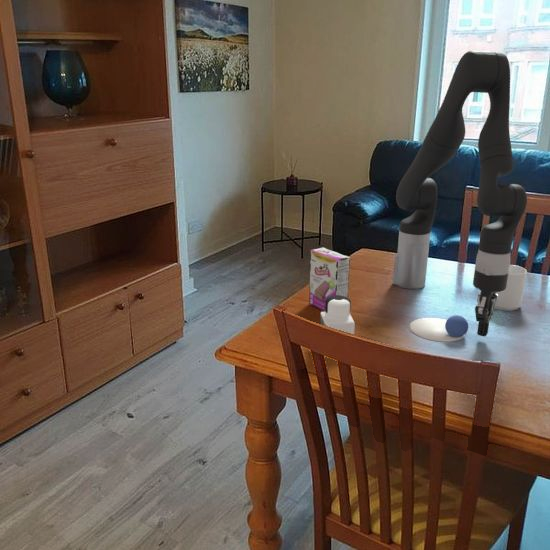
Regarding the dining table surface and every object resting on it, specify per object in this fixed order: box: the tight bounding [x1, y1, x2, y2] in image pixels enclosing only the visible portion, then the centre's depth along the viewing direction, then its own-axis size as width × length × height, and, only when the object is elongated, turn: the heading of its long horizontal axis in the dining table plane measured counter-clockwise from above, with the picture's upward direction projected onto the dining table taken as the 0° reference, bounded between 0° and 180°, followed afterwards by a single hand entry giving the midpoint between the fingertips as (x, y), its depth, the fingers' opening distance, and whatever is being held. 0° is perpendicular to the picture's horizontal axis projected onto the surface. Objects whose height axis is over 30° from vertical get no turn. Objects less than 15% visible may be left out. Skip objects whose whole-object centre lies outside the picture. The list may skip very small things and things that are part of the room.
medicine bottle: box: [319, 295, 356, 335], centre depth 134 cm, size 7×7×12 cm
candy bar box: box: [308, 246, 351, 312], centre depth 154 cm, size 11×5×16 cm, turn 37°
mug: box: [495, 264, 528, 312], centre depth 159 cm, size 12×9×11 cm
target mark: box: [409, 317, 467, 343], centre depth 144 cm, size 14×14×1 cm
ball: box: [445, 314, 469, 337], centre depth 140 cm, size 6×6×6 cm
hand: (482, 334), depth 138 cm, fingers closed
